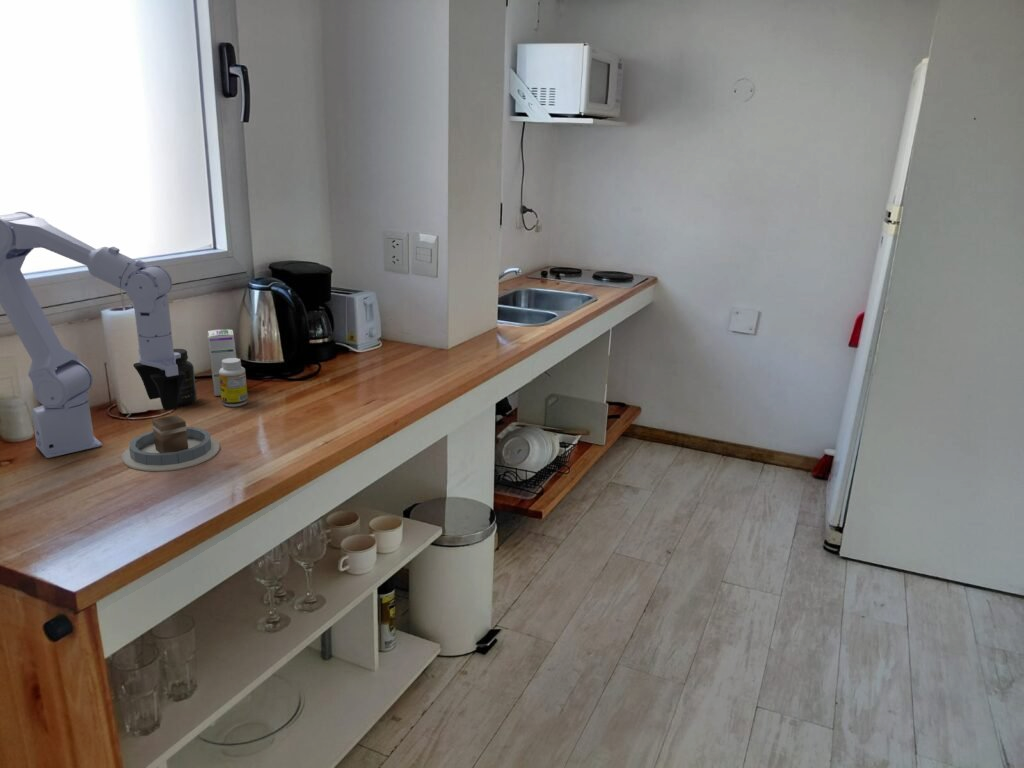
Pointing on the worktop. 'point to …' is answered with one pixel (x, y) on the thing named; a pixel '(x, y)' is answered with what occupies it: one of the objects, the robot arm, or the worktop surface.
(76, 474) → the worktop surface
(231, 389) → the supplement bottle
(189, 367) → the supplement bottle
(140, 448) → the round tray
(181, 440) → the walnut bead block
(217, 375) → the syrup box
